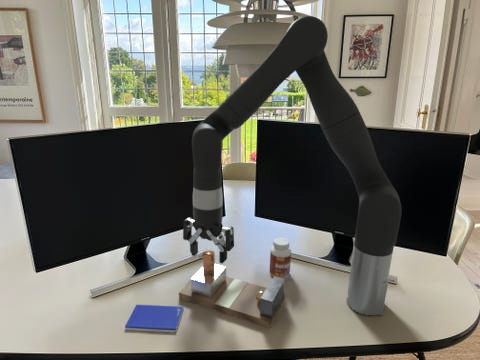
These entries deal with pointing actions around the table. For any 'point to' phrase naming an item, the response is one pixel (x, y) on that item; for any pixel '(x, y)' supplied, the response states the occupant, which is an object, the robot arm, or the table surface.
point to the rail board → (233, 300)
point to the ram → (208, 276)
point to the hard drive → (155, 318)
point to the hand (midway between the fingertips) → (208, 258)
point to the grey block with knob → (271, 297)
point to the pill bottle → (280, 258)
